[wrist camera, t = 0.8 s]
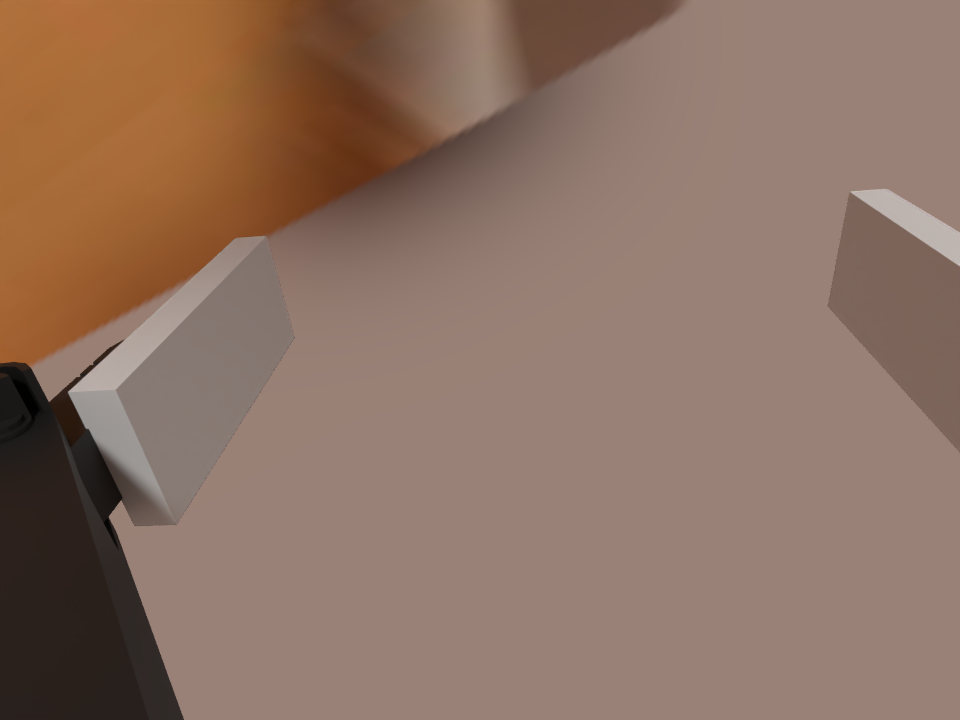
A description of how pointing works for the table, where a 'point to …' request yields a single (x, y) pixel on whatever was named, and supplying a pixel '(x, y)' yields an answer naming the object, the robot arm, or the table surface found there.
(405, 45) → the table surface
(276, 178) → the table surface
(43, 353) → the table surface
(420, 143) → the table surface
